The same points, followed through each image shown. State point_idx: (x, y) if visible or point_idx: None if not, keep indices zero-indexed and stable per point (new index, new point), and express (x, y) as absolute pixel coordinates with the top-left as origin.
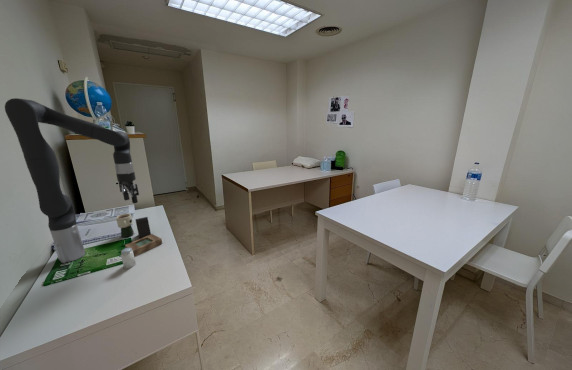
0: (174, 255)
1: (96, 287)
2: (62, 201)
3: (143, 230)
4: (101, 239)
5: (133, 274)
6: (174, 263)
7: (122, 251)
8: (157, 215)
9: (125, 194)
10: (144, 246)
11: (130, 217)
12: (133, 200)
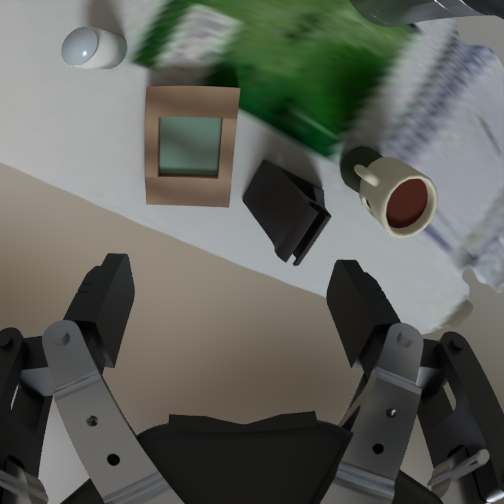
0: (45, 176)
1: None
2: None
3: (271, 198)
4: (420, 109)
5: (54, 47)
6: (12, 154)
7: (81, 31)
8: None
9: (362, 332)
10: (145, 129)
11: (379, 220)
12: (97, 285)
